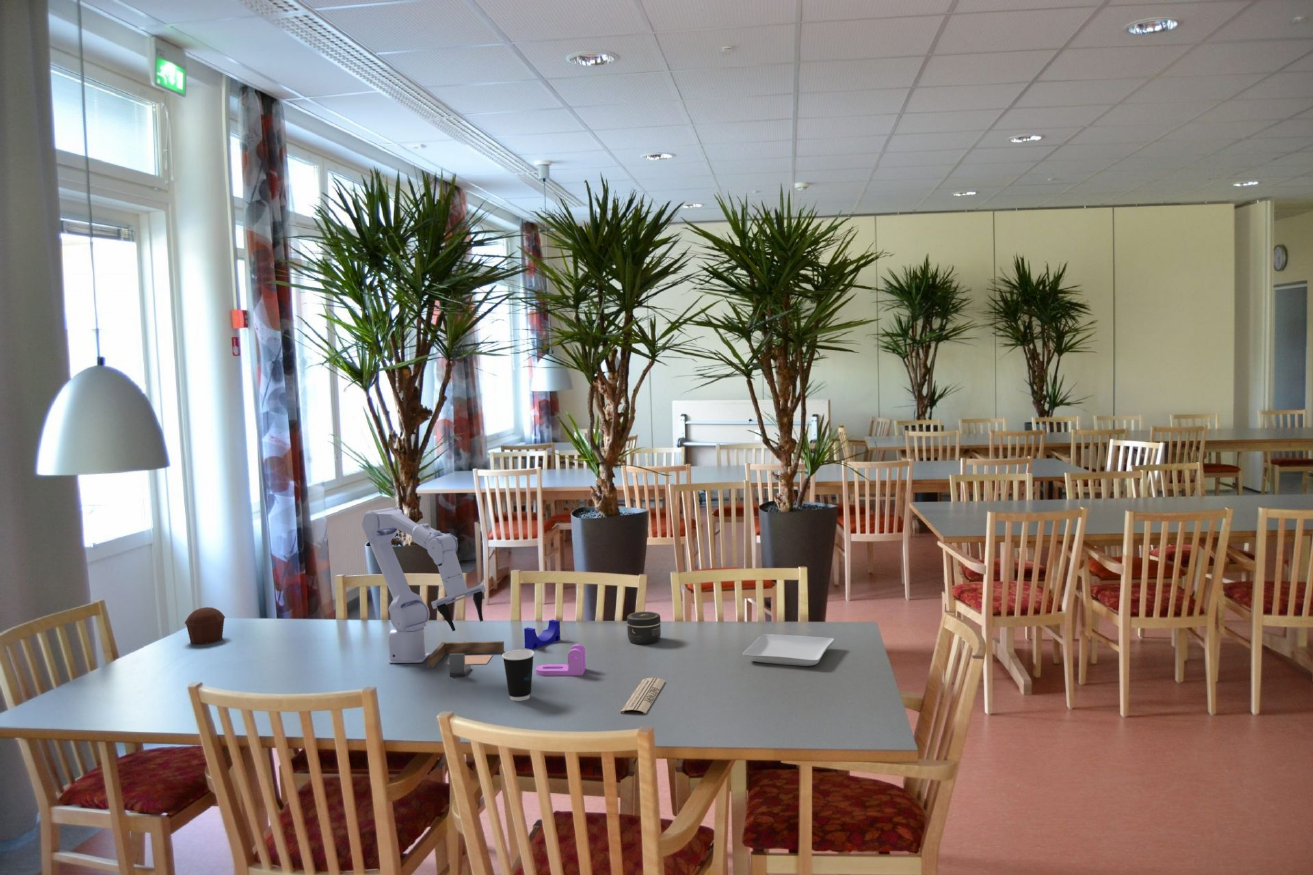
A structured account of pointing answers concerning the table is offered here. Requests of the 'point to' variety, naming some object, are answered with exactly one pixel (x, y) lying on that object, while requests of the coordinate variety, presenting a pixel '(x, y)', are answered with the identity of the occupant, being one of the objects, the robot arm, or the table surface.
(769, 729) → the table surface
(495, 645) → the corner walls
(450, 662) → the angle bracket
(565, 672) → the bracket
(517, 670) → the dixie cup
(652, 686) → the newspaper
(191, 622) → the muffin
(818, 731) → the table surface
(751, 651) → the salad plate
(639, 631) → the jar
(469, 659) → the mat
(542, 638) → the blue cradle block
